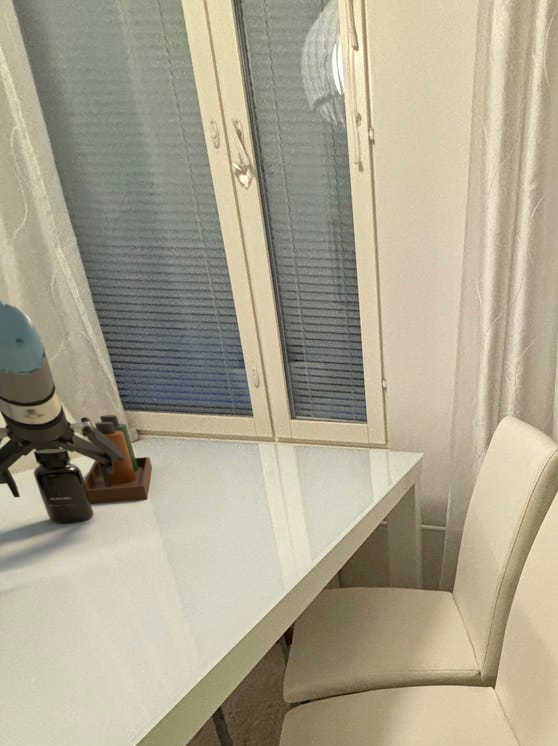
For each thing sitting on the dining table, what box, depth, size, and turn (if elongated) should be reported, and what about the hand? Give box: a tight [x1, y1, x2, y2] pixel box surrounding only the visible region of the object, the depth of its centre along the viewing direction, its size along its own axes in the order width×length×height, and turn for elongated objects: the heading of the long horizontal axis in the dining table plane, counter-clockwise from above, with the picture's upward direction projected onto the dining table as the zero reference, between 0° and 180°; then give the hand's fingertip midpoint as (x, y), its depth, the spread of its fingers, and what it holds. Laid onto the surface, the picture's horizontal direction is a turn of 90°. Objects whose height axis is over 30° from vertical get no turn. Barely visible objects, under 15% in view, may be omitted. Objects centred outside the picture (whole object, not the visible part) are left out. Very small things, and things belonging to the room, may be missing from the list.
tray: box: [83, 456, 153, 504], centre depth 120 cm, size 11×29×3 cm, turn 26°
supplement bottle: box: [33, 447, 95, 524], centre depth 97 cm, size 7×7×12 cm
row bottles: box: [94, 414, 138, 484], centre depth 122 cm, size 6×16×12 cm, turn 26°
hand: (62, 485), depth 98 cm, fingers open, 13 cm apart
